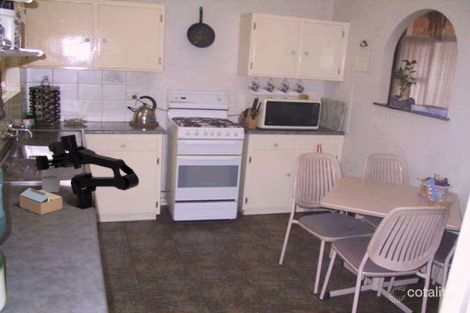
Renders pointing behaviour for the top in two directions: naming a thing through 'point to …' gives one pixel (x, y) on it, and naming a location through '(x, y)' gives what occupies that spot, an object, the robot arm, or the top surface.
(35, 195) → the flap
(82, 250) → the top surface
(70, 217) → the top surface
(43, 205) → the carton
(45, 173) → the supplement box
